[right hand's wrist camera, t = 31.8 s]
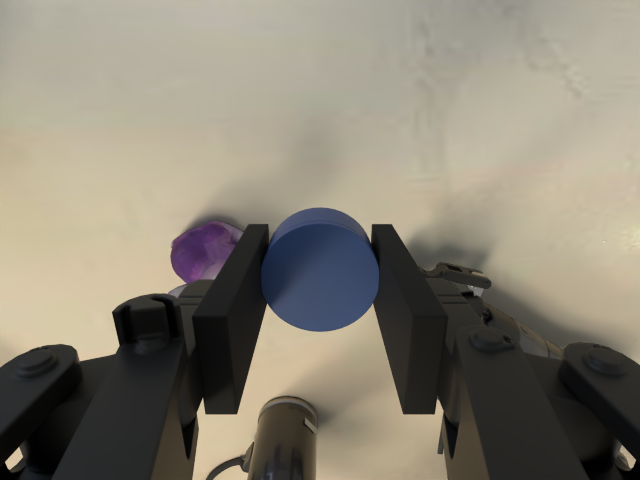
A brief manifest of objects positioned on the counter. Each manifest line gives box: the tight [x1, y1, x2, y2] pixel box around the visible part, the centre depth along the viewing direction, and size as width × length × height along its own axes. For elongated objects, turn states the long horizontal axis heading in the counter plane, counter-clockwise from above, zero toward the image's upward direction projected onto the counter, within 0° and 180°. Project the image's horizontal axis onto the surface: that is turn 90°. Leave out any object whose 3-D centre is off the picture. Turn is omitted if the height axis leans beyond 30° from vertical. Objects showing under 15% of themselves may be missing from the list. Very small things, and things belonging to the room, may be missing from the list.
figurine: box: [168, 221, 244, 298], centre depth 41 cm, size 9×10×15 cm
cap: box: [261, 208, 379, 332], centre depth 13 cm, size 4×4×2 cm
